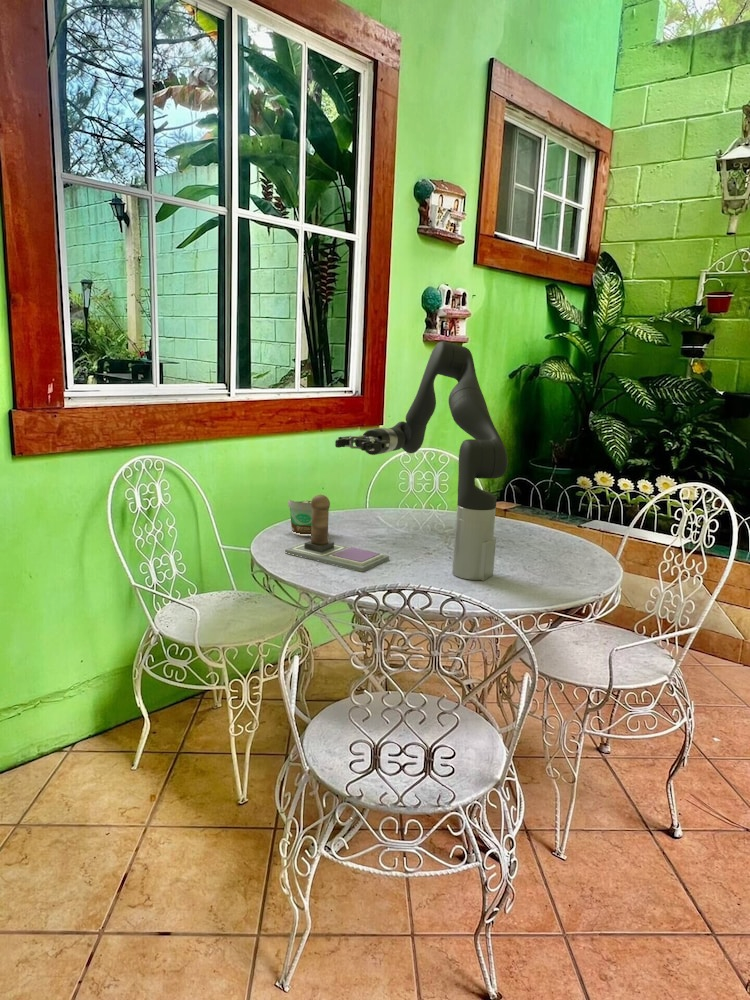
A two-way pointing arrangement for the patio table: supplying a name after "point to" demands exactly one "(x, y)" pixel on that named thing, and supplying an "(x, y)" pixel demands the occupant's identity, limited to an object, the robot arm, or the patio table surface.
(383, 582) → the patio table surface
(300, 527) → the food container
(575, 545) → the patio table surface
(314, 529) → the stamp
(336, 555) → the stamping board
